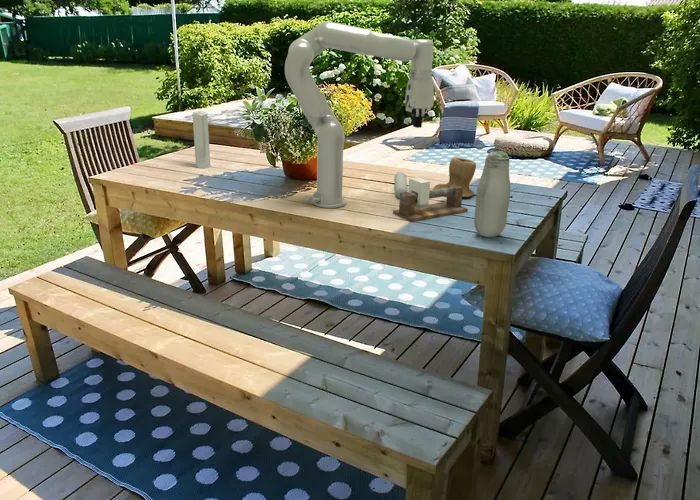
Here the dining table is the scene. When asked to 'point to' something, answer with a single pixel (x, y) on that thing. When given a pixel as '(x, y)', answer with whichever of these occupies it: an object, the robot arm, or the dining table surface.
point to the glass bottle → (493, 195)
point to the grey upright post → (201, 139)
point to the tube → (400, 183)
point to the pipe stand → (433, 210)
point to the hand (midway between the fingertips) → (417, 127)
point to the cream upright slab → (420, 191)
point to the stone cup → (460, 175)
